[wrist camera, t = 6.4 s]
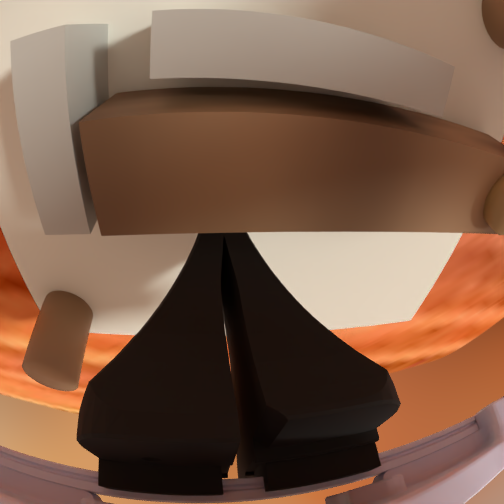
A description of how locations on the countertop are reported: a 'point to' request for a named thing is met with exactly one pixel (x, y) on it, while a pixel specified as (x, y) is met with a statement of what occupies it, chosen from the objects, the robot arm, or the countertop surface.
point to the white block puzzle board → (218, 75)
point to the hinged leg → (285, 165)
